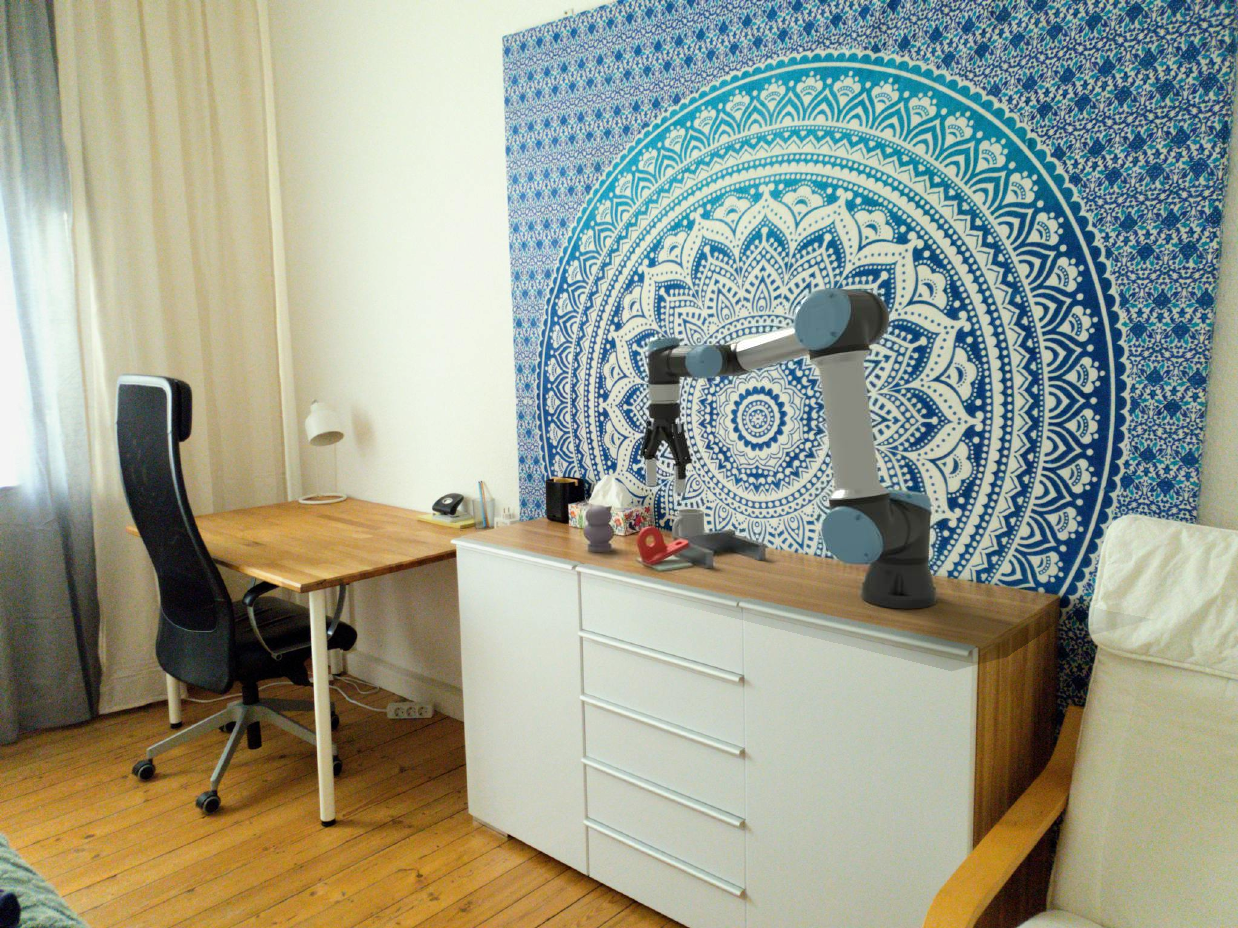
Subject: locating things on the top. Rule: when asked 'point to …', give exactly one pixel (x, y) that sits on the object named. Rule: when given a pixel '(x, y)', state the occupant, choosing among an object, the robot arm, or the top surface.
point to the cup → (688, 522)
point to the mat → (668, 564)
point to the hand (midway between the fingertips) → (665, 489)
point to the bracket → (657, 546)
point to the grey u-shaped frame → (718, 547)
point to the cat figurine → (599, 528)
